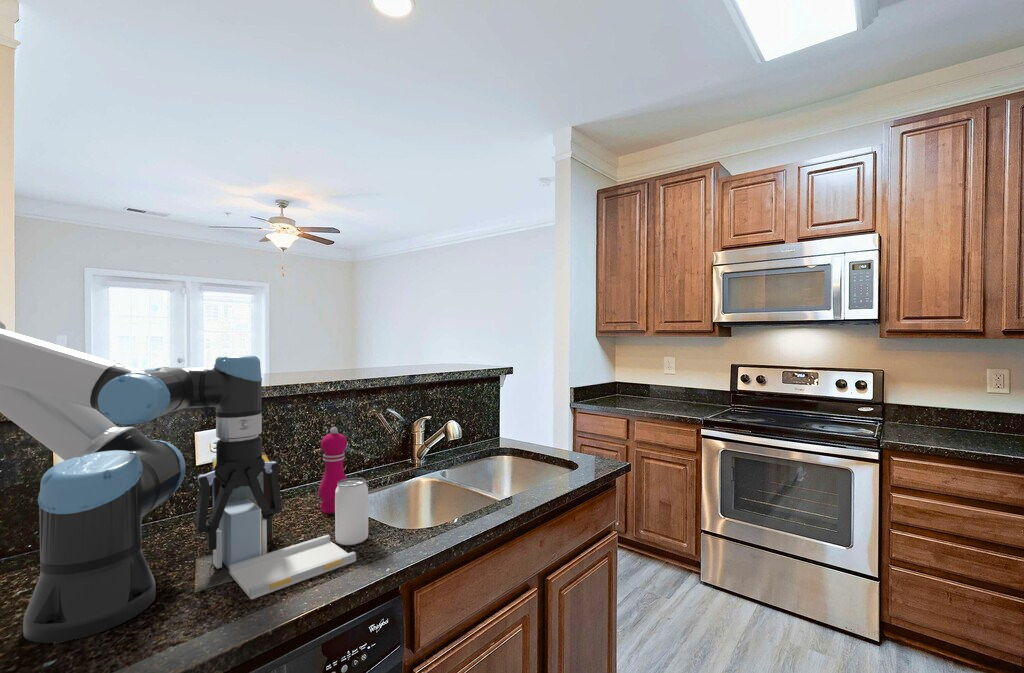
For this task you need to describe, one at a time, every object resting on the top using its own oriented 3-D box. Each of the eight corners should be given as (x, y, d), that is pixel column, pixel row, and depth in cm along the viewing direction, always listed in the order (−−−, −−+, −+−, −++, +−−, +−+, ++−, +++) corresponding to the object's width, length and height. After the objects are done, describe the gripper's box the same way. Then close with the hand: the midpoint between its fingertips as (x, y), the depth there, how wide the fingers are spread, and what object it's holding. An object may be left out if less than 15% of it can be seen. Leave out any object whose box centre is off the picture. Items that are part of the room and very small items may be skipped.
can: (358, 547, 95) (357, 487, 95) (328, 545, 96) (328, 485, 96) (374, 534, 101) (373, 478, 101) (346, 532, 102) (345, 476, 102)
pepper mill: (313, 508, 116) (313, 426, 116) (342, 501, 121) (342, 423, 121) (325, 516, 111) (324, 431, 111) (354, 508, 116) (354, 427, 116)
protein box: (265, 517, 111) (264, 451, 111) (273, 540, 98) (273, 465, 98) (212, 527, 105) (211, 457, 105) (213, 553, 92) (213, 474, 92)
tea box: (261, 562, 89) (261, 508, 89) (231, 571, 85) (231, 516, 85) (247, 548, 94) (247, 498, 94) (218, 557, 91) (218, 505, 91)
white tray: (251, 600, 76) (251, 590, 76) (229, 573, 85) (229, 565, 85) (356, 561, 89) (356, 553, 89) (327, 541, 97) (327, 534, 97)
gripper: (181, 449, 80) (182, 585, 80) (300, 431, 94) (301, 547, 94) (171, 442, 85) (172, 570, 85) (286, 427, 100) (287, 536, 100)
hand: (240, 558), depth 90 cm, fingers open, 7 cm apart
